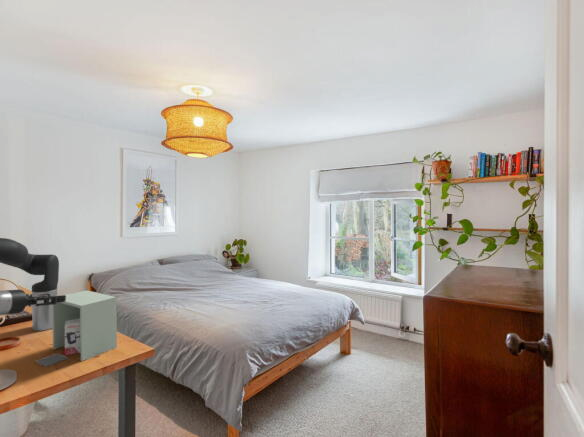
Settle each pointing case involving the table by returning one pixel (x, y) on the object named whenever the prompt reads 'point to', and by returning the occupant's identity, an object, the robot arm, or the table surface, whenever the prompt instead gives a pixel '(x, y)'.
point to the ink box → (72, 336)
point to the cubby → (87, 322)
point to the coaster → (51, 359)
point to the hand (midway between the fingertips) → (57, 297)
